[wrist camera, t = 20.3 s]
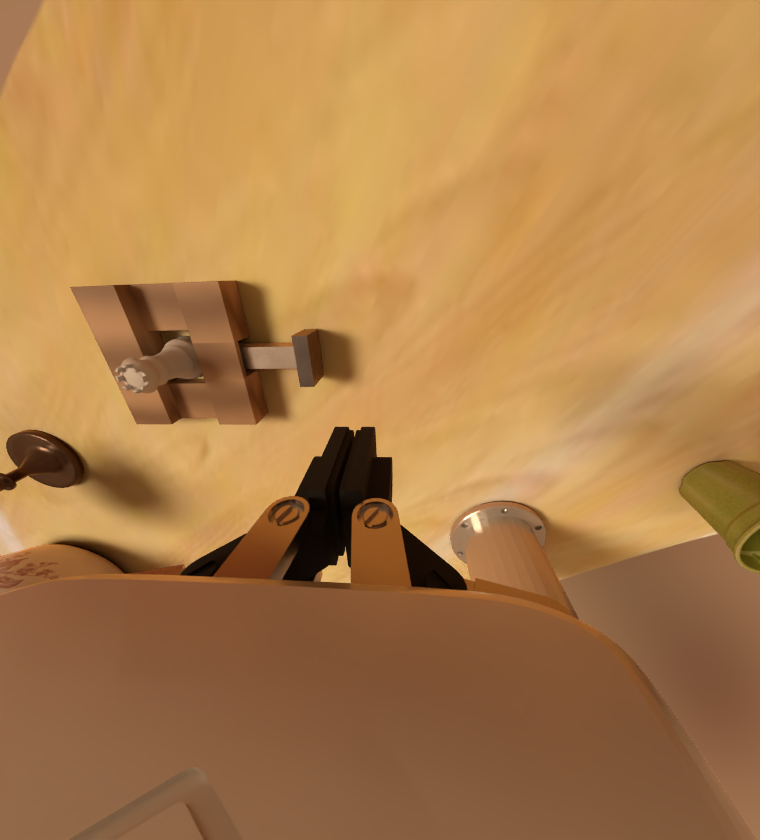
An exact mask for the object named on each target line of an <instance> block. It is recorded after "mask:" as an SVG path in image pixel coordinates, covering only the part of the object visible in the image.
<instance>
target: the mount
mask: <svg viewBox="0 0 760 840" xmlns="http://www.w3.org/2000/svg"><path fill="white" fill-rule="evenodd" d="M70 288H71V290H72V292H73V294H74V296H75V298H76V300H77V302H78V304H79V306H80V308H81V310H82V312H83V314H84V316H85V318H86V320H87V323H88V325H89V327H90V329H91V331H92V333H93V335H94V337H95V339H96V341H97V343H98V345H99V347H100V349H101V351H102V353H103V355H104V358H105V360H106V362H107V364H108V366H109V368H110V370H111V372H112V374H113V376H114V378H115V377H116V376H119V375H120V373H117V372H115V370H116V368H117V367H119V366H121V364H122V362H123V360H125V359H127V358H138V359H140V358H142V357H143V356H154V355H156V354H158V353H160V352H161V351H162V349H163V348H164V343H163V341H162V338H161V335H160V333H159V331H168V330H188V332H189V335H190V338H191V341H192V344H193V347H194V350H195V353H196V356H197V359H198V362H199V365H200V368H201V371H202V374H203V377H204V379H184V380H177V378H174V379H170V380H168V381H167V383H166V384H163V385H159V386H158V388H157V389H156V391H154V392H152V393H133V389H132V390H129V391H127V390H125V389H124V388H122V387H123V386H124V385H126V384H125V383H124V382H123V381H121V382H117V380H116V378H115V380H116V382H117V384H118V386H119V388H120V390H121V393H122V395H123V397H124V399H125V401H126V403H127V405H128V407H129V409H130V411H131V413H132V415H133V417H134V419H135V421H136V423H137V424H173V423H175V422H176V421H178V420H179V419H181V418H218V421H219V424H257V423H258V422H259V421H260V420H261V419H262V418H263V417H264V416H265V415H266V414H267V413H268V411H267V407H266V403H265V398H264V394H263V390H262V386H261V382H260V378H259V373H258V370H245V368H244V364H243V360H242V356H241V352H240V349H239V345H238V341H239V340H242V339H244V338H247V337H249V332H248V328H247V323H246V319H245V315H244V311H243V307H242V303H241V298H240V294H239V290H238V286H237V282H236V281H209V282H184V283H163V284H138V285H108V286H83V287H70Z"/></svg>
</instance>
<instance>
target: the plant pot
mask: <svg viewBox="0 0 760 840" xmlns="http://www.w3.org/2000/svg"><path fill="white" fill-rule="evenodd" d="M679 492H680V494H681V496H682V497H683V498H684V499H685V500H686V501H687V502H688V503H689V504H690V505H691V506H692V507H693V508H694V509H695V510H696V511H697V512H698V513H699V514H700V515H701V516H702V517H703V518H704V519H705V520H706V521H707V522H708V523H709V524H710V525H711V526H712V527H713V528H714V530H715V531H716V532H717V533H718V534H719V535H720V536H721V537H722V538H723V539H724V540H725V541H726V544H727V545H728V547H729V548H730V549H731V550H732V551H733V554H734V558H735V559H736V561H737V563H738V564H739V565H740V566H742V567H743V568H745V569H746V570H749V571H752V572H755V573H760V473H758V472H755V471H753V470H751V469H748V468H746V467H744V466H741V465H739V464H736V463H734V462H731V461H726V460H725V461H722V462H708V463H705V464H702V465H700V466H698V467H696V468H695V469H693V470H692V471H690V472H689V473H688V474H687V475H686V476H685V477H684V478H683V480H682V486H681V488H679Z"/></svg>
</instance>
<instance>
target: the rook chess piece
mask: <svg viewBox="0 0 760 840" xmlns="http://www.w3.org/2000/svg"><path fill="white" fill-rule="evenodd" d="M115 372H117V373H120V375H119V376H116V377H115V378H116V380H117V382H121V381H123V382H124V383H125V384H126V385H124V386H123V387H122V388H124V389H125V390H127V391H129V390H132V389H133V393H152V392H154V391H156V389H157V388H158V386H159V385H163V384H166V383H167V381H168V380H170V379H174V378H184V379H195V378H198V377H201V376H203V374H202V371H201V368H200V365H199V362H198V359H197V356H196V353H195V350H194V347H193V344H192V341H191V338H190V337H188V336H179V337H178V338H176V339H172V340H171V341H169V342H167V343H166V344H165V346H164V348H163V349H162V351H161V352H160V353H158V354H156V355H154V356H143V357H142V358H140V359H138V358H127V359H125V360H123V362H122V364H121V366H119V367H117V368H116V370H115Z"/></svg>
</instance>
